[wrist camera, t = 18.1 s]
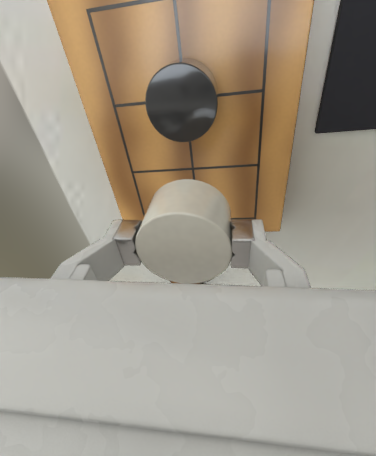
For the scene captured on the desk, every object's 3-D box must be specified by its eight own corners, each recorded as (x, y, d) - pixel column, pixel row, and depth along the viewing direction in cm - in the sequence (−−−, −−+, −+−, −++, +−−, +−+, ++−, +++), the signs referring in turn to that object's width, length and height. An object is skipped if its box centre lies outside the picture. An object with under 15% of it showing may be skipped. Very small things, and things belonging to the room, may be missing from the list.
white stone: (232, 177, 12) (234, 212, 10) (230, 245, 15) (231, 285, 13) (141, 179, 13) (123, 213, 10) (156, 244, 16) (145, 282, 13)
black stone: (217, 53, 16) (216, 57, 14) (219, 126, 19) (218, 140, 17) (149, 62, 17) (137, 67, 14) (161, 131, 20) (152, 145, 17)
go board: (315, -68, 14) (326, -80, 12) (276, 220, 26) (280, 231, 25) (54, -17, 16) (38, -22, 15) (132, 224, 28) (127, 234, 27)
